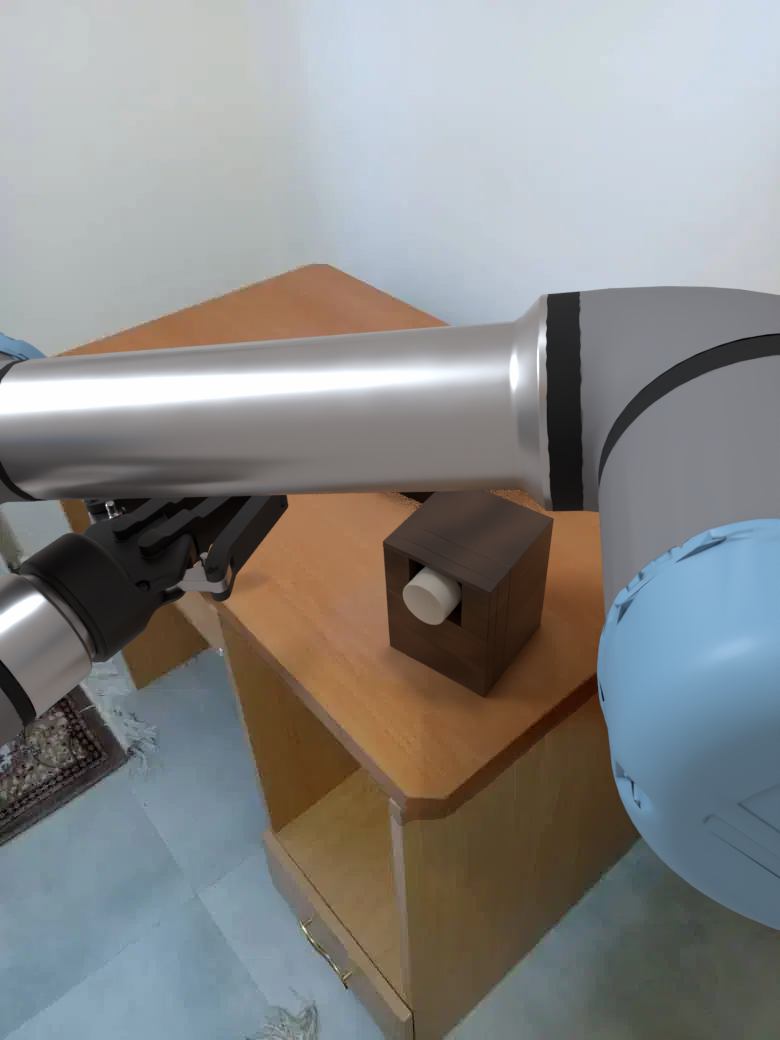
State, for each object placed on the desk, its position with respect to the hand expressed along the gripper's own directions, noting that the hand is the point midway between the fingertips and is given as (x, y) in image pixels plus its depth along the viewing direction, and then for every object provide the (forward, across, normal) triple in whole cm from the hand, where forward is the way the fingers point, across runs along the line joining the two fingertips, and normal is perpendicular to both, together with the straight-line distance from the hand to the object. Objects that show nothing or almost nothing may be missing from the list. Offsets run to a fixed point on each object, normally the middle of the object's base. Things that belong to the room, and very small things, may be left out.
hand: (316, 424), depth 60 cm
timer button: (0, +11, -14) cm, 18 cm away
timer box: (+5, +11, -22) cm, 25 cm away
